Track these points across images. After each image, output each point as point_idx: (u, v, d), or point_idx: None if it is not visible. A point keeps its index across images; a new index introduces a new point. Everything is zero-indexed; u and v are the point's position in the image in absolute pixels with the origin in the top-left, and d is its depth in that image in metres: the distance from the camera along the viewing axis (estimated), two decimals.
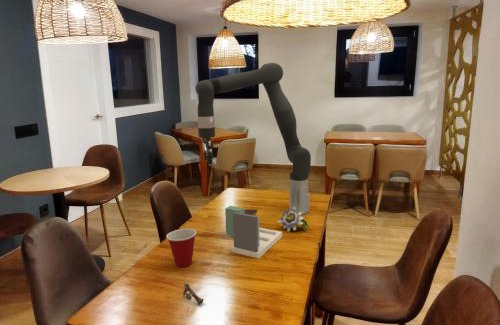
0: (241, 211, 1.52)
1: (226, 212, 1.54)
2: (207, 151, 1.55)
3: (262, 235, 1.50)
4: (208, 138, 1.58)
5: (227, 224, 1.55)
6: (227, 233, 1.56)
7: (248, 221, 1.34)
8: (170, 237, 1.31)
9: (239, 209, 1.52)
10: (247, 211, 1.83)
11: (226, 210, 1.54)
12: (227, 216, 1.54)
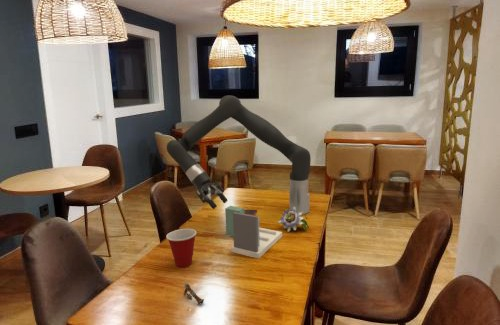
0: (241, 211, 1.52)
1: (226, 212, 1.54)
2: (201, 200, 1.53)
3: (262, 235, 1.50)
4: (200, 187, 1.56)
5: (227, 224, 1.55)
6: (227, 233, 1.56)
7: (248, 221, 1.34)
8: (170, 237, 1.31)
9: (239, 209, 1.52)
10: (247, 211, 1.83)
11: (226, 210, 1.54)
12: (227, 216, 1.54)
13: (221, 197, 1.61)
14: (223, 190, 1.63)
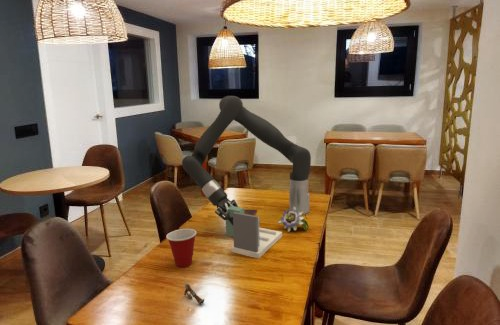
0: (241, 211, 1.52)
1: None
2: (222, 218, 1.51)
3: (262, 235, 1.50)
4: (216, 203, 1.53)
5: (227, 224, 1.55)
6: (227, 233, 1.56)
7: (248, 221, 1.34)
8: (170, 237, 1.31)
9: (239, 209, 1.52)
10: (247, 211, 1.83)
11: None
12: None
13: None
14: None
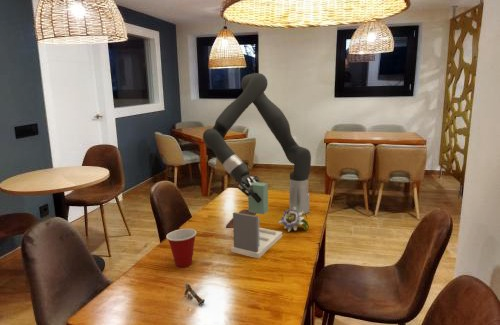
0: (265, 186, 1.44)
1: None
2: (245, 194, 1.44)
3: (262, 235, 1.50)
4: (239, 179, 1.46)
5: (250, 201, 1.47)
6: (250, 210, 1.48)
7: (248, 221, 1.34)
8: (170, 237, 1.31)
9: (263, 184, 1.45)
10: (247, 211, 1.83)
11: None
12: None
13: None
14: None
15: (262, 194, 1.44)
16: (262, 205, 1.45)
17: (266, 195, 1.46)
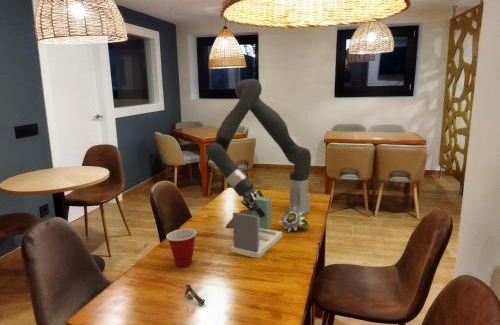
0: (269, 201, 1.45)
1: (252, 202, 1.47)
2: None
3: (262, 235, 1.50)
4: (242, 193, 1.46)
5: None
6: None
7: (248, 221, 1.34)
8: (170, 237, 1.31)
9: (266, 199, 1.45)
10: (247, 211, 1.83)
11: None
12: None
13: None
14: None
15: (266, 209, 1.44)
16: (265, 220, 1.45)
17: (270, 210, 1.47)
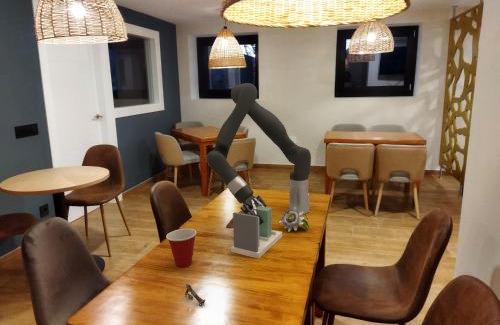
0: (269, 211, 1.46)
1: (253, 212, 1.48)
2: None
3: None
4: (243, 201, 1.47)
5: None
6: None
7: (248, 221, 1.34)
8: (170, 237, 1.31)
9: (267, 209, 1.46)
10: None
11: None
12: None
13: None
14: (265, 205, 1.53)
15: (266, 219, 1.45)
16: (266, 229, 1.46)
17: (270, 219, 1.48)
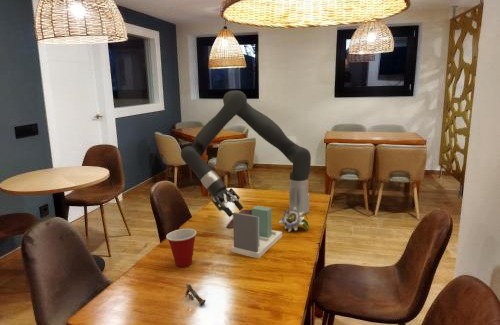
0: (269, 211, 1.46)
1: (253, 212, 1.48)
2: (217, 207, 1.50)
3: None
4: (215, 194, 1.53)
5: None
6: None
7: (248, 221, 1.34)
8: (170, 237, 1.31)
9: (267, 209, 1.46)
10: (247, 211, 1.83)
11: (253, 210, 1.47)
12: None
13: (237, 204, 1.58)
14: (238, 197, 1.60)
15: (266, 219, 1.45)
16: (266, 229, 1.46)
17: (270, 219, 1.48)
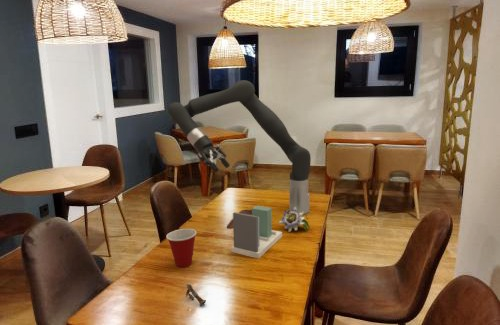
0: (269, 211, 1.46)
1: (253, 212, 1.48)
2: (202, 162, 1.49)
3: None
4: (201, 150, 1.52)
5: None
6: None
7: (248, 221, 1.34)
8: (170, 237, 1.31)
9: (267, 209, 1.46)
10: (247, 211, 1.82)
11: (253, 210, 1.47)
12: None
13: (223, 162, 1.57)
14: (225, 155, 1.59)
15: (266, 219, 1.45)
16: (266, 229, 1.46)
17: (270, 219, 1.48)
